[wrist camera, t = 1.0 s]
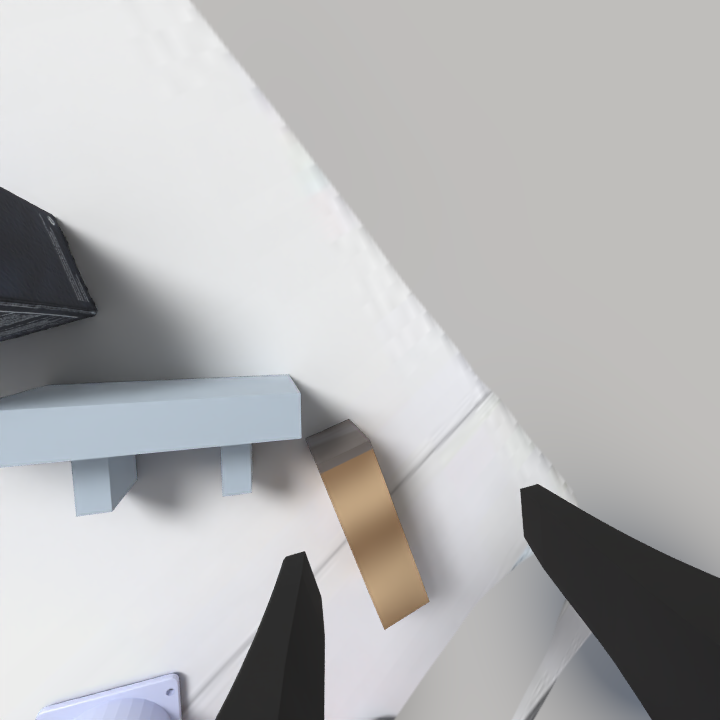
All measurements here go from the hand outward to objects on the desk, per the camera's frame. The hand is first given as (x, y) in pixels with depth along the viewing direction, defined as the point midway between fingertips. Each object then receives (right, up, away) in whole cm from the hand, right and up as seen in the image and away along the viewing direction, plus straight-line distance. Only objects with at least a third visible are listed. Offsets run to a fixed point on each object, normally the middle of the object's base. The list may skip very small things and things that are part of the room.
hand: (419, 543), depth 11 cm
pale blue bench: (-14, +2, +11) cm, 18 cm away
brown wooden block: (-2, -5, +16) cm, 17 cm away
